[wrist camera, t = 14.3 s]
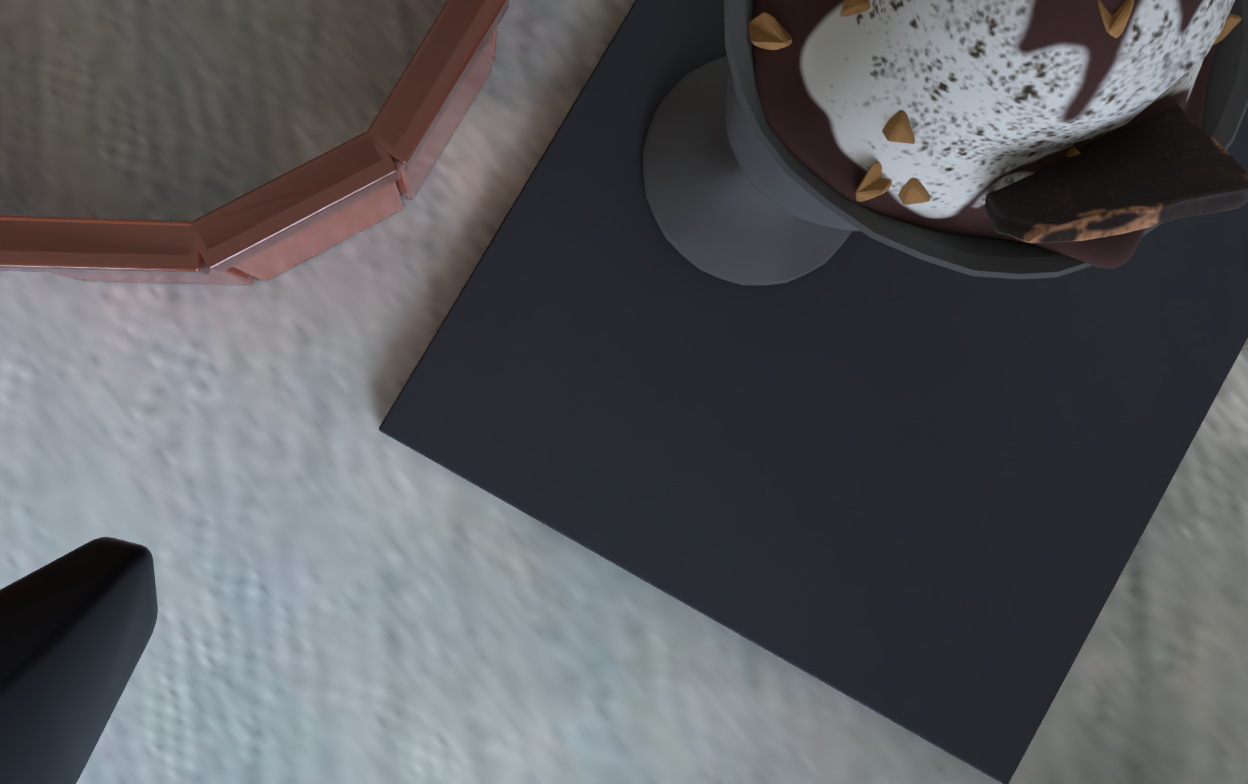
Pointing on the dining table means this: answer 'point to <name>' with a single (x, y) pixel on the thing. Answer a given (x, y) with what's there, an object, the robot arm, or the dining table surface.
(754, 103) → the sundae
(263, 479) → the dining table surface
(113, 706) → the robot arm
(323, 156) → the serving tub
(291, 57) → the dining table surface
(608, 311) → the placemat
